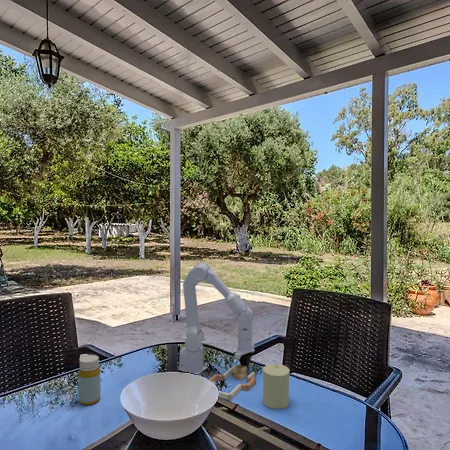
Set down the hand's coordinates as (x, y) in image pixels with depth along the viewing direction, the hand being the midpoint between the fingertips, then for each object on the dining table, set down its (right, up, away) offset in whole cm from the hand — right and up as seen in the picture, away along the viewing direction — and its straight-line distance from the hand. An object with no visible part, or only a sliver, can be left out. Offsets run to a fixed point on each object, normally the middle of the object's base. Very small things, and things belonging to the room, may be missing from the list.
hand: (244, 370), depth 151 cm
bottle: (-55, -2, -22) cm, 59 cm away
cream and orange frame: (-5, -2, -10) cm, 11 cm away
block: (-2, -1, -4) cm, 4 cm away
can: (+10, -3, -22) cm, 24 cm away
